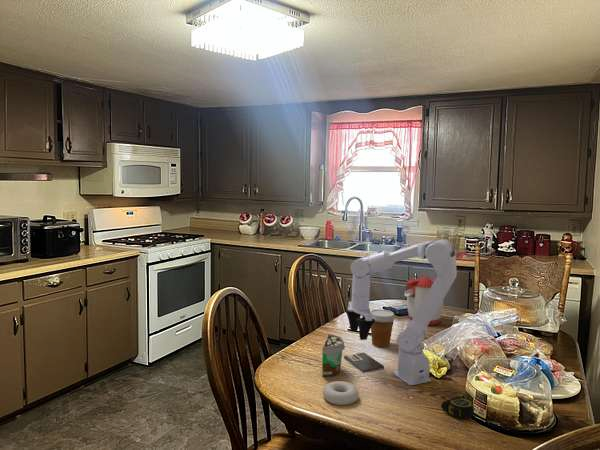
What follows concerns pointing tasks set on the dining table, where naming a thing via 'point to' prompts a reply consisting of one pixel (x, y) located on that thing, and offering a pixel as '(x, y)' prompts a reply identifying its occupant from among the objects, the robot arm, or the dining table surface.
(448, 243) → the robot arm
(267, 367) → the dining table surface
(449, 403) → the tape measure
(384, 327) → the disposable coffee cup
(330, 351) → the food container
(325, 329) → the dining table surface
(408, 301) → the citrus juicer
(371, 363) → the label panel
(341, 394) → the donut
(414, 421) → the dining table surface
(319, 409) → the dining table surface
